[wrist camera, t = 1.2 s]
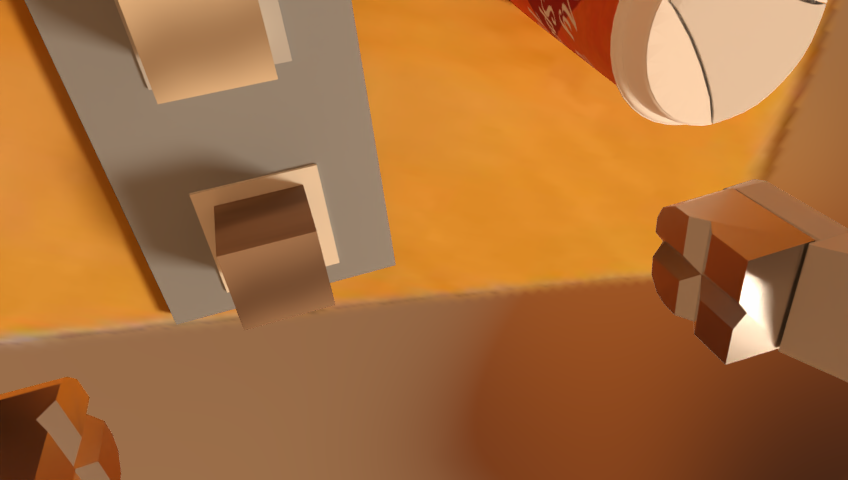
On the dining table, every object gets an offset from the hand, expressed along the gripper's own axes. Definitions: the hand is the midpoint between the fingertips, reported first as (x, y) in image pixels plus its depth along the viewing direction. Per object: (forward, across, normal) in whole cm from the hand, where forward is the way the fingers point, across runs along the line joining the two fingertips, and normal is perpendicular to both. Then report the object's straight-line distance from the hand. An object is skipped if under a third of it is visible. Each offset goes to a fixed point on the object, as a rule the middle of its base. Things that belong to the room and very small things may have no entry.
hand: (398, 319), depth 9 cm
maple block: (+25, +3, 0) cm, 25 cm away
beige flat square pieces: (+26, +3, +7) cm, 28 cm away
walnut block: (+26, +3, +13) cm, 29 cm away
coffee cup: (+26, -15, +1) cm, 31 cm away
